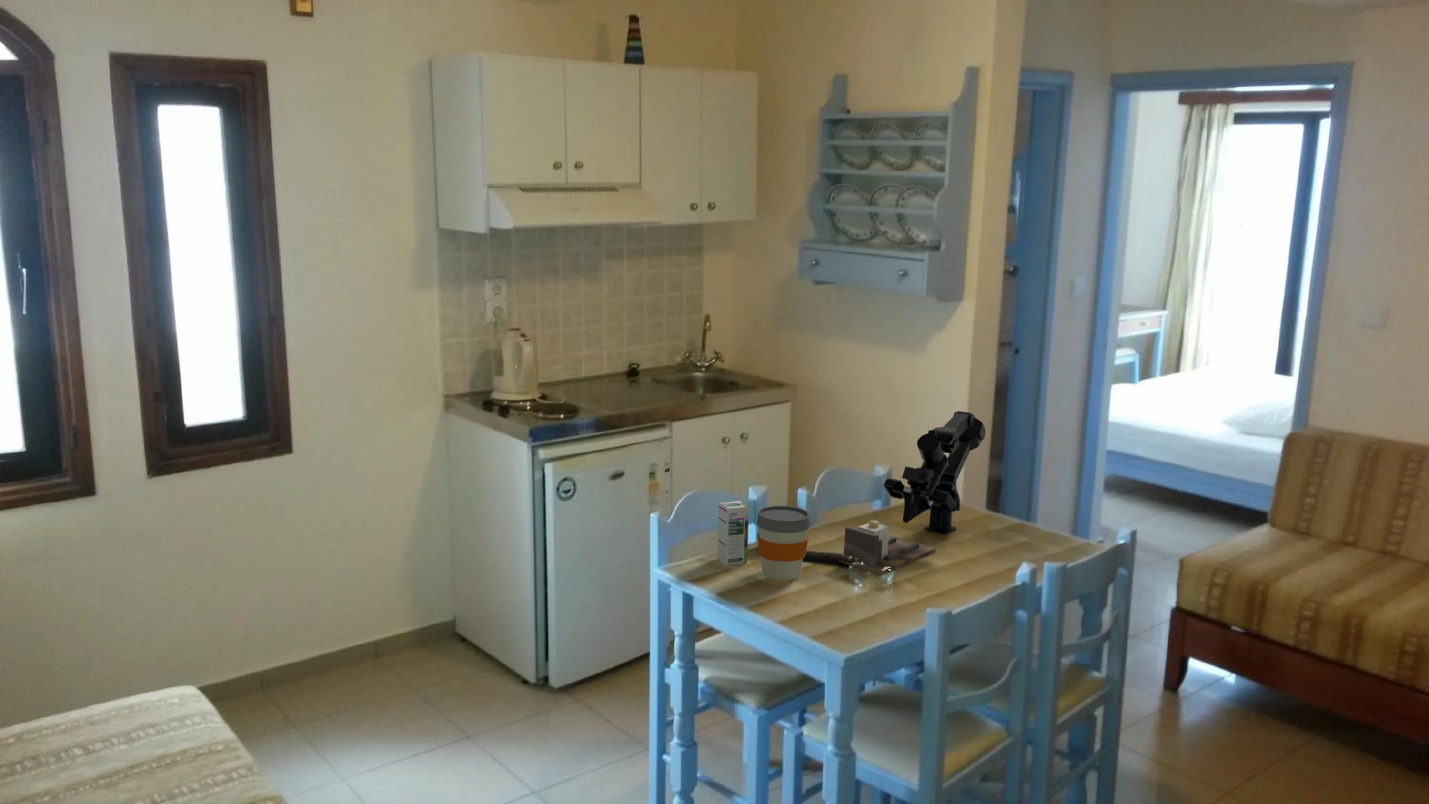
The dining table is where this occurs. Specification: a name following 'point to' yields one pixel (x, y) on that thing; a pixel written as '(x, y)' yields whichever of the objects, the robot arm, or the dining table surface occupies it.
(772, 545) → the reusable coffee cup
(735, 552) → the syrup box
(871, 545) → the brown board with frame
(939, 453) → the robot arm
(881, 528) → the white block with knob
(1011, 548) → the dining table surface
